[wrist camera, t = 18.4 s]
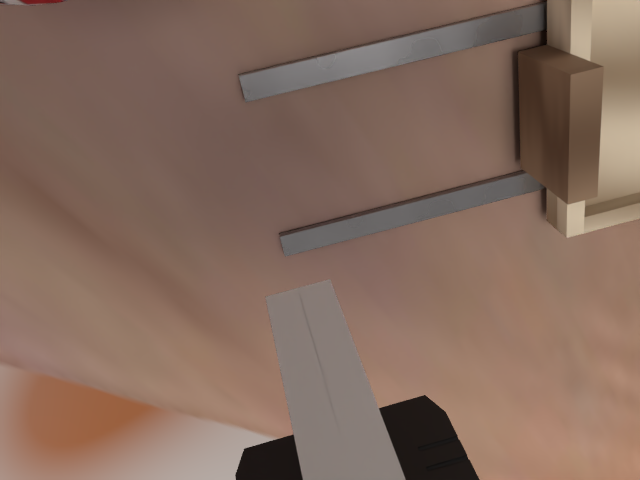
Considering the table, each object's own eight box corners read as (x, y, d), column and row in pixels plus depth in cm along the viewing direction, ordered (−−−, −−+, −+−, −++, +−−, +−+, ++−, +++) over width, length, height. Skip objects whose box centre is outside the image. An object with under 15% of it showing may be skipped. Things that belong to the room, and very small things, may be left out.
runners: (238, 74, 23) (238, 76, 23) (953, -96, 25) (961, -97, 25) (284, 253, 27) (285, 256, 27) (897, 92, 29) (903, 94, 29)
